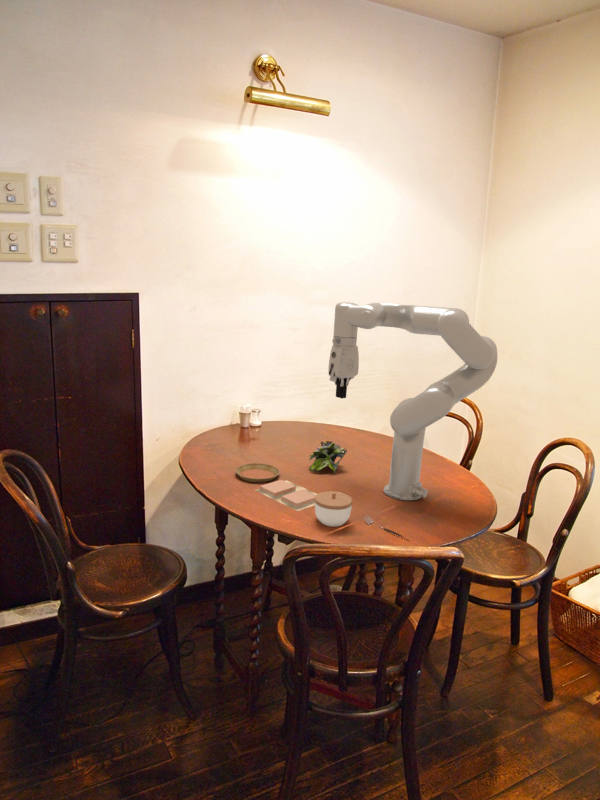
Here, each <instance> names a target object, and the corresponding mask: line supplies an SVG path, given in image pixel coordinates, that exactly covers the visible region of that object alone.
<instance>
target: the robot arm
mask: <svg viewBox="0 0 600 800" xmlns="http://www.w3.org/2000/svg"><path fill="white" fill-rule="evenodd" d="M333 322H334V323H333V337H332V338H333V339H332V341H331V342H332V346H331V349H330V354H329V359H328V371H327V372H328V376H329V381H331V382H333V383H334V385H335V387H336V389H335V398H340V399H346V398H347V391H348V390H347V389H348V386H349V384H350V381H351V380H353V379H354V378H355V377H356V376H358V374H359V363H360V358H359V356H360V355H359V346H358V345H357V341H358V328H360V329H363V330H371V329H375V328H376V327H386V328H396V329H402V330H405V331H407V332H409V333H410V334H417V335H427V336H428V335H430V336H440V337H441V339H442V340H443V341H444V343H446V344H447V345H448V346H449V347H450V349H452V350H453V352H454V353H455V354H456V355H457V356H458V357H459V358H460V359H461V360H462V362H463V363H464V364H463V365H461V366H460V367H459V368H457V369H455V370H454V371H453V372H452V373H449V374H448V375H446V376H444V377H442V378H441V379H439V380H438V381H436V382H433V383H432V384H430V385H429V386H428V387H427V388H426V389H425V390H424V391H422V392H421V393H419V394H417V395H416V396H414V397H409V398H406V399H403V400H402V401H401V402H399V404H398V405H397V406H396V407H395V408H394V409H393V411H392V413H390V414H391V415H390V417H389V424H390V427H391V429H392V430H393V440H392V441H393V442H392V447H391V448H392V450H391V451H392V452H391V459H390V460H391V461H390V470H389V471H390V472H389V480H388V483H387V484H386V485H384V486H383V492H384V494H385V495H387V497H390V498H392V499H396V500H399V501H416V500H420V499H421V498H424V499H425V498H426V497H427V496H428V493H429V490H428V489H427V488H423V483H422V482H421V481H420V478H421V470H422V460H423V449H424V441H425V434H426V428H427V427H430V426H431V425H433V424H434V423H436V422H438V421H439V420H442V419H443V418H444V417H445V416H447V415H448V414H449V413H450V412H451V411H452V408H453V407H454V406H455V405H456V404H458V403H459V402H460V401H462V400H464V399H465V398H467V397H469V396H470V395H472V394H474V393H475V392H476V391H479V389H481V388H482V387H483V386H484V385H485V384H486V383H487V382H489V380H490V379H491V378H492V376H493V374H494V372H495V371H496V368H497V364H498V347H497V345H496V342H495V341H494V340H493V339H492V338H490V337H488V336H485V335H481V334H480V333H479V332H478V331H477V329H475V328H474V327H473V326H472V324H470V319H469V316H468V313H467V312H466V311H464V310H463V309H461V308H457V307H456V308H455V307H441V306H427V305H414V304H410V305H409V304H400V303H399V304H398V303H387V302H385V303H384V302H372V303H368V304H361V305H360V304H357V303H355V302H349V301H347V302H346V301H342V302H338V303H336V305H335V308H334V321H333Z"/></svg>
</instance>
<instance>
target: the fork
mask: <svg viewBox="0 0 600 800" xmlns="http://www.w3.org/2000/svg"><path fill="white" fill-rule="evenodd" d="M362 518H363V519H364V520H365V522H366V523H367V524H368V525H369V524H370V523H373V522H375V520H374V519H372V517H370V515H369V514H366V516H362ZM380 527H381V528H383V529H384V531H385V530H386V531H385V532H387V531H388V532H387V533H389V532H391V533H393V534H396V535H398V536H401V537H402V536H403V535H401V534H400V533H398V532H396V531H393V530H391V529H387V528H385V527H382V526H380ZM381 528H380V529H381ZM383 529H382V530H383ZM391 533H390V534H391ZM393 534H392V535H393ZM398 536H397V537H398Z"/></svg>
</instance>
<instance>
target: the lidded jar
mask: <svg viewBox="0 0 600 800" xmlns="http://www.w3.org/2000/svg"><path fill="white" fill-rule="evenodd" d="M353 502H354V501H353V497H352V496H350V495H349V494H347V493H344V492H341V491H334V490H333V491H331V490H329V491H328V490H326V491H321V492H319V493H317V495H316V496H315V505H314V511H315V512H314V513H315V517H316V518H317V520H318V521H319V522H320V523H321V524H322V525H324V526H326V527H331V528H332V527H333V528H334V527H335V528H336V527H340V526H343V525H345V524H346V523H347V521H349V518H350V516H351V513H352V506H353Z"/></svg>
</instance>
